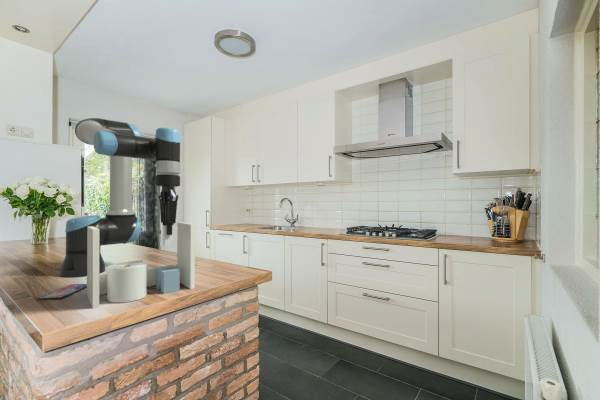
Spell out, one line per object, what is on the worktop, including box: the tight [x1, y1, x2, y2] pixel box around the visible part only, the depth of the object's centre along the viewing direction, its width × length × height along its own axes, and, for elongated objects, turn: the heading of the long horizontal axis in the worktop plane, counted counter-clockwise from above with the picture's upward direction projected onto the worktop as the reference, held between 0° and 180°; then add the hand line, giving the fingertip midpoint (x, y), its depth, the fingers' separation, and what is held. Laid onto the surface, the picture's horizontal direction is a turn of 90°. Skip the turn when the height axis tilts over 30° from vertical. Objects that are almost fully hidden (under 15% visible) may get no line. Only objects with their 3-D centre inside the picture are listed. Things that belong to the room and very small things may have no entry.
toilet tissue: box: [106, 259, 148, 304], centre depth 93 cm, size 11×12×10 cm
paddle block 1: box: [155, 265, 174, 291], centre depth 103 cm, size 3×5×7 cm, turn 131°
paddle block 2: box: [160, 268, 181, 295], centre depth 99 cm, size 3×5×7 cm, turn 131°
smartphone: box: [36, 283, 87, 301], centre depth 98 cm, size 8×1×15 cm
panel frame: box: [86, 221, 196, 309], centre depth 98 cm, size 14×29×22 cm, turn 131°
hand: (168, 244), depth 101 cm, fingers closed
